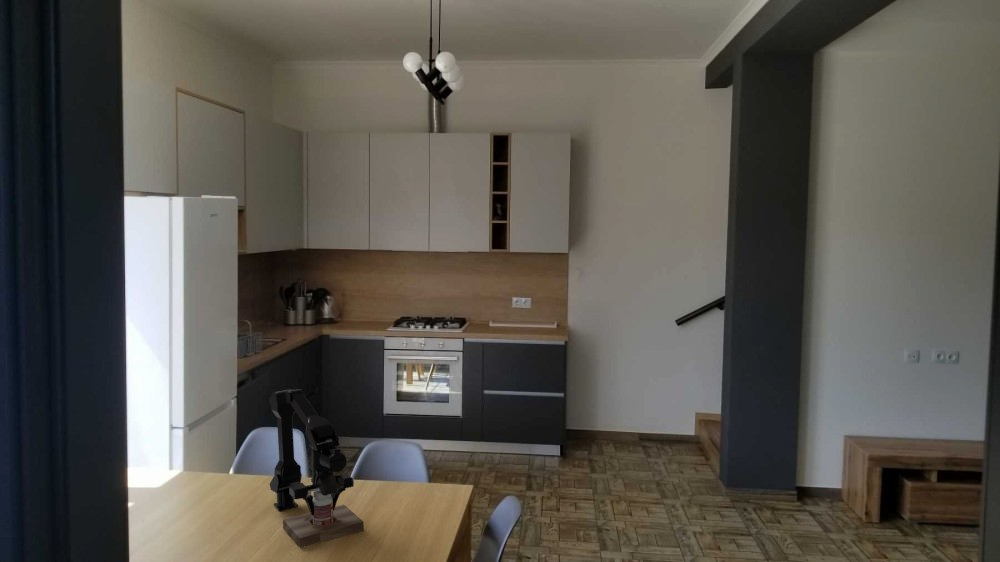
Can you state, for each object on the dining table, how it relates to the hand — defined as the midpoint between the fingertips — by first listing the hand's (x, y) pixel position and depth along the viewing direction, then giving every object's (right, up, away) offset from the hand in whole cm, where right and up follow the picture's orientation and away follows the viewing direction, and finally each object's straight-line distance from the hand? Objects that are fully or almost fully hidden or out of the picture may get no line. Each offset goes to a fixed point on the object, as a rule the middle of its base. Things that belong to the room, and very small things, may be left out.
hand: (322, 512), depth 213 cm
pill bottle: (0, -4, 0) cm, 4 cm away
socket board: (0, -5, 0) cm, 5 cm away
